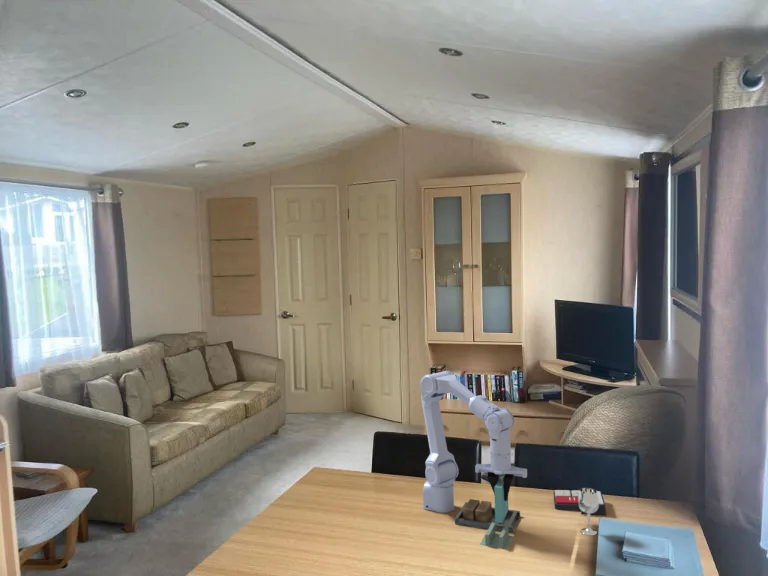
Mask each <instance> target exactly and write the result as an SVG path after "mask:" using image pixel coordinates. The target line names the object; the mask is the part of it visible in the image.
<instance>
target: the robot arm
mask: <svg viewBox="0 0 768 576" xmlns="http://www.w3.org/2000/svg"><path fill="white" fill-rule="evenodd" d="M419 387H420V389H419V390H420V395H421V396H420V401H421V407H422V411H423V417H424V423H425V429H426V434H427V441H428V447H429V455H428V456H427V458H426V460H425V462H424V463H425V472H424V473H425V479H426V481H425V483H424V485H423V489H422V502H423V503H422V508H423V510H425V511H432V512H437V513H442V514H444V513H451V512H453V511H454V509H455V494H454V493H455V489H454V487H455V486H454V485H455V484H454V483H455V482H456V478H458V475H459V473H460V472H459V467H458V464H457V462H456V460H455V456H454V454H453V453H451V452H450V451H448V446H447V440H446V435H445V428H444V423H443V418H442V413H441V407H440V401H441V400H442V399H443V397H444V396H445V395H446V394H451V395H453V396H454V397H456V399H458V400H461V401H462V402H463V403H465V404H466V405H468V409H469V411H470V413H472V414H473V415H475V417H477V418H478V419H480V420H481V421H482V422H484V425H485V427H486V428H487V431H488V436H489V442H490V443H489V444H490V445H489V447H490V451H489V452H490V463H483V464H482V463H477V464H476V465H475V466H474V468H475V469H474V470H475V471H474V472H475V473H477V474H478V473H484V474H487V476H486V478H487V481H488V482H489V485H490V487H491V489H492V491H493V492H492V493H493V495H494V497H495V494H494V487H495V485H496V483H497V482H498V480H499V478H500V477H499V476H504V478H503V482H504V501H507V500H508V501H509V493H510V489H511V486H512V482H513V481H514V478H515V477H522V478H524V479H526V478H527V477H528V469H527V468H523V467H517V466H514V465H512V460H511V458H512V456H511V455H512V454H511V453H512V450H511V446H512V445H511V428H513V426H514V424H515V417H514V415H513V413H512V412H511V411H510V410H509V408H501V407H499V406H498V405H496V404H494V403H492V402H491V401H490V400H489V399H488V397H487V396H485V395H475V394H474V393H473V392H472V391H471V390H470V389H468V388H467V387H466V386H465V385H463V384H462V383H461V382H460V381H459V380H458V379H457V375H455V374H454V373H452V372H451V371H449V370H444V371H440V372H435V373H431V374H425V375H424V376H422V377H421V380H420V381H419Z"/></svg>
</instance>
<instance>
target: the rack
mask: <svg viewBox="0 0 768 576" xmlns="http://www.w3.org/2000/svg"><path fill="white" fill-rule="evenodd" d="M467 503H468V501H465V503H464V504H463V505H462V507H461V508H460V510H459V511H458V512H457V514H456V515H455V517H454V524H455V525H458V526H464V527H465V526H466V527H472V528H476V529H477V528H478V529H485V530H488V529H489V527H490V525H491V523H495V527H496V531H497V532H502V530H503V528H504V526H505V525H509V534H511V533H514V530H515V528H516V526H517V523H518V522H519V520H520V518H521V510H514V509H509V508H508V512H507V514H506V516H505V518H504V520H503V523H499V522H495V506H492V515H491V517H490V519H489V520H488V522H481V521H476V520H468V519H463V509H464V507H465V506H466V504H467Z"/></svg>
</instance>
